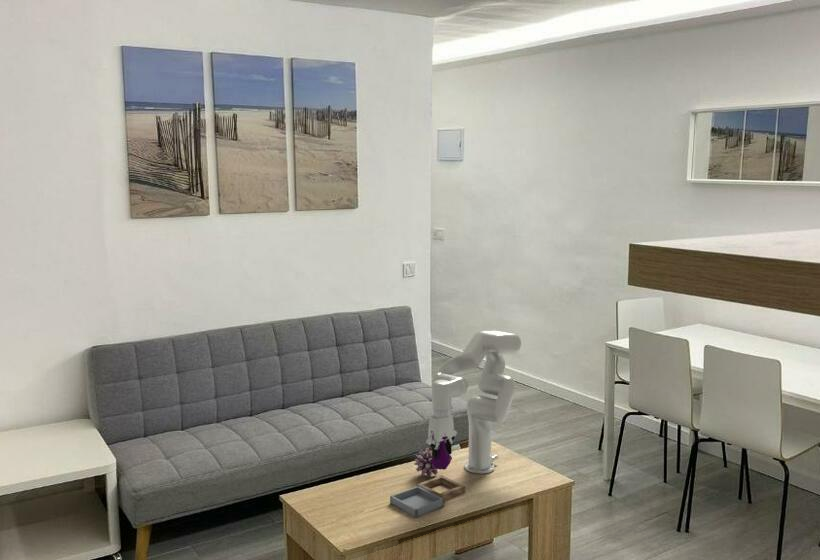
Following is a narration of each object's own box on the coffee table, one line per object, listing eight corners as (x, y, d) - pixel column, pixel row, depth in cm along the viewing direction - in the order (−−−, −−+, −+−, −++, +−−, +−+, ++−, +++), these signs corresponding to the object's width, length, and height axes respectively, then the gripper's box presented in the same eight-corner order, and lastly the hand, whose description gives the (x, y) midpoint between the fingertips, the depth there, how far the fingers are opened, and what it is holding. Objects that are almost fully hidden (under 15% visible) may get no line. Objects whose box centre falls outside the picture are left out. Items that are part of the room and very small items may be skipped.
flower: (448, 475, 308) (448, 448, 306) (429, 484, 299) (429, 456, 297) (427, 467, 315) (427, 441, 313) (408, 476, 306) (408, 449, 305)
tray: (417, 493, 291) (417, 485, 290) (443, 506, 280) (444, 499, 279) (390, 503, 282) (390, 496, 281) (415, 517, 271) (415, 509, 270)
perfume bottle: (448, 471, 287) (452, 426, 285) (429, 469, 288) (433, 424, 287) (451, 465, 294) (454, 421, 292) (433, 463, 296) (436, 419, 294)
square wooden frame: (441, 481, 302) (441, 475, 302) (465, 492, 292) (465, 486, 292) (416, 490, 293) (416, 484, 293) (439, 502, 283) (439, 496, 283)
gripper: (451, 404, 296) (451, 447, 299) (418, 414, 285) (418, 458, 288) (464, 409, 290) (464, 452, 294) (431, 419, 279) (431, 464, 282)
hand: (441, 455), depth 291 cm, fingers closed on perfume bottle, 6 cm apart
